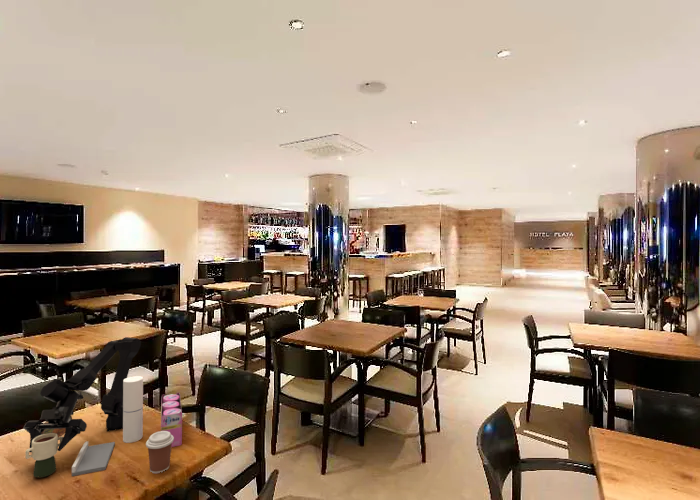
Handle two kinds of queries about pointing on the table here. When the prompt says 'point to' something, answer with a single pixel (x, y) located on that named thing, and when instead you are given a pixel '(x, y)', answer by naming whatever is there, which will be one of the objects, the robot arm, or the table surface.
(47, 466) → the character mug
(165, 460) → the coffee cup
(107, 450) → the shelf board
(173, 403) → the gum box
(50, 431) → the tin
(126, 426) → the cylindrical container
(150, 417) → the table surface
